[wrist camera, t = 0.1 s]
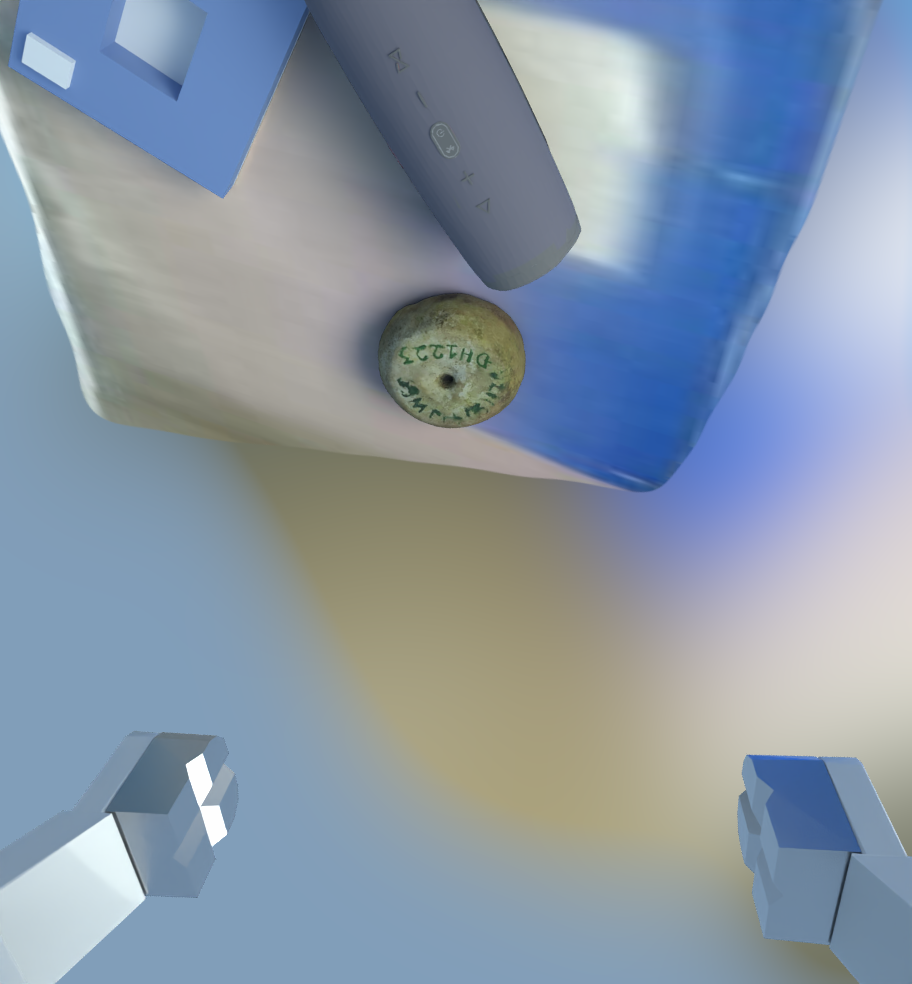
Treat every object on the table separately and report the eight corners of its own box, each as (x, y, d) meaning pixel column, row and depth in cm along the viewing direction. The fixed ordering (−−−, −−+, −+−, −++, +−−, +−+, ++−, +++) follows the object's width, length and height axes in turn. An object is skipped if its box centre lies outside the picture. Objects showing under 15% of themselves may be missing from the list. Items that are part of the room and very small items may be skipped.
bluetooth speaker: (308, -37, 48) (265, -1, 41) (426, -133, 44) (402, -112, 37) (482, 250, 61) (473, 314, 54) (585, 195, 57) (590, 257, 50)
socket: (79, -198, 43) (49, -195, 41) (321, -15, 48) (308, -2, 46) (29, 53, 53) (3, 68, 51) (234, 182, 59) (220, 202, 56)
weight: (366, 382, 72) (356, 414, 68) (404, 264, 63) (395, 295, 59) (494, 425, 74) (491, 458, 71) (549, 318, 65) (549, 350, 61)
